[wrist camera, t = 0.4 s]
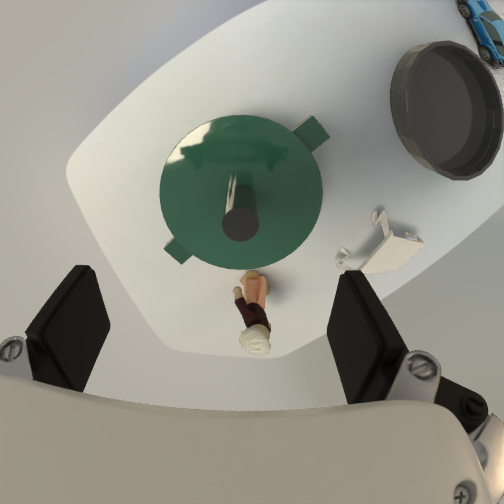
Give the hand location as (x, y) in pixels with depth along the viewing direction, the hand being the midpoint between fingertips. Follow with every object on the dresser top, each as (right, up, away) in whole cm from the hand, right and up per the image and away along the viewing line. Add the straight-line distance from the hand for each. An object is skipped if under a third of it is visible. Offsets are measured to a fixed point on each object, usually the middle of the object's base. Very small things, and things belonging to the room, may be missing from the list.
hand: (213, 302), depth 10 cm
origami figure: (+17, +4, +26) cm, 32 cm away
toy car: (+35, +34, +10) cm, 50 cm away
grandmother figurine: (+2, -2, +29) cm, 29 cm away
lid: (0, +6, +13) cm, 15 cm away
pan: (+27, +21, +17) cm, 38 cm away
